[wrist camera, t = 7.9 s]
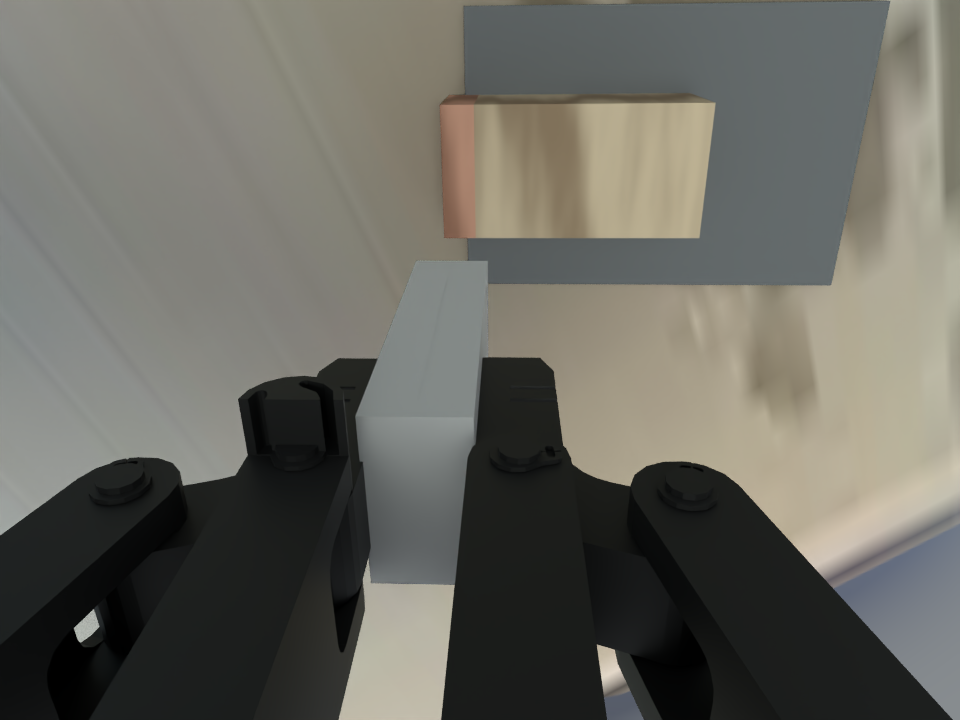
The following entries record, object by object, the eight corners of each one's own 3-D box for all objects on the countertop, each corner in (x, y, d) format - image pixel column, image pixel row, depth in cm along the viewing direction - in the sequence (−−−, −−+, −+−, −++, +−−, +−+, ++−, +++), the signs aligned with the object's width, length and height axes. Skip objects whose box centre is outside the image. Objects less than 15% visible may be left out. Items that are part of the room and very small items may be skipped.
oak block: (444, 238, 34) (699, 238, 34) (439, 104, 32) (715, 102, 31) (452, 213, 39) (677, 212, 38) (449, 95, 36) (689, 93, 35)
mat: (468, 281, 41) (468, 283, 40) (464, 6, 35) (463, 6, 34) (828, 283, 40) (830, 285, 39) (886, 1, 34) (890, 0, 33)
